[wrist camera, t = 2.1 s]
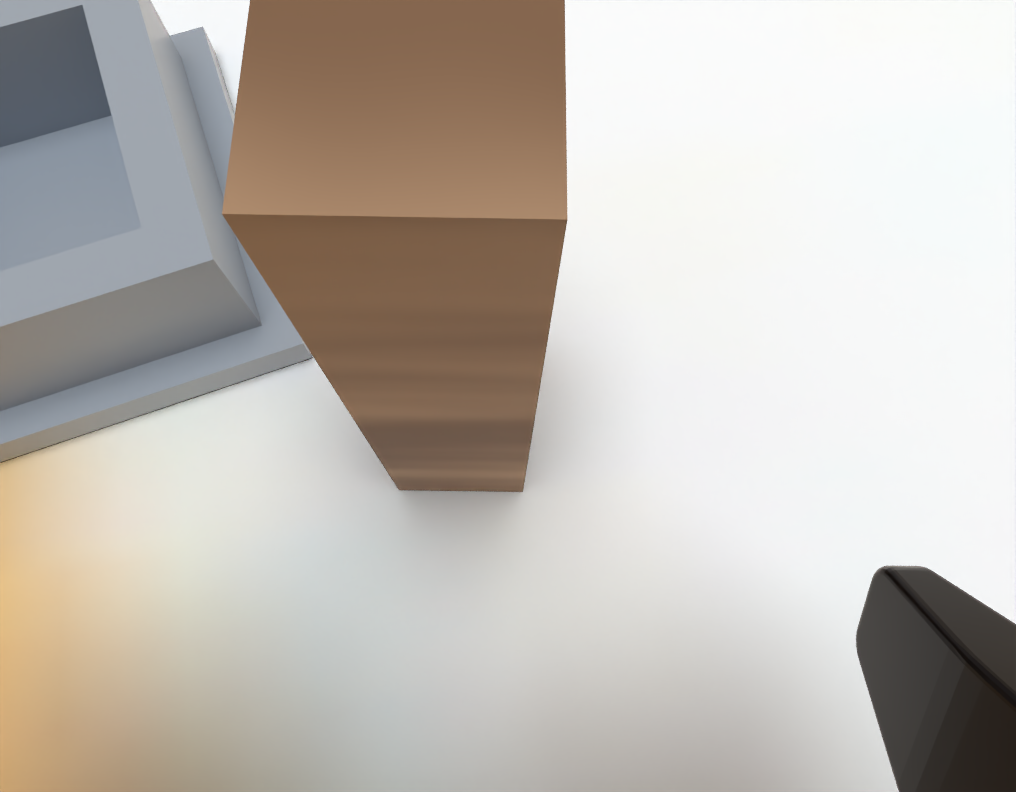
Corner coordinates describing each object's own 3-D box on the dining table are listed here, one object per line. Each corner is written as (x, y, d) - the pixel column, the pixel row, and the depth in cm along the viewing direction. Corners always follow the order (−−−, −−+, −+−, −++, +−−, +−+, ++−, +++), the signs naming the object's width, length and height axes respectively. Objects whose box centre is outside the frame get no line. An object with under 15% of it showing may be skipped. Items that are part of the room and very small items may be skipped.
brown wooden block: (522, 491, 19) (566, 219, 7) (399, 490, 19) (220, 213, 7) (523, 337, 21) (562, -130, 8) (407, 336, 21) (267, -136, 8)
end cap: (312, 357, 20) (262, 281, 16) (-90, 492, 19) (-260, 448, 15) (215, 52, 23) (150, -84, 19) (-142, 154, 22) (-298, 34, 18)
